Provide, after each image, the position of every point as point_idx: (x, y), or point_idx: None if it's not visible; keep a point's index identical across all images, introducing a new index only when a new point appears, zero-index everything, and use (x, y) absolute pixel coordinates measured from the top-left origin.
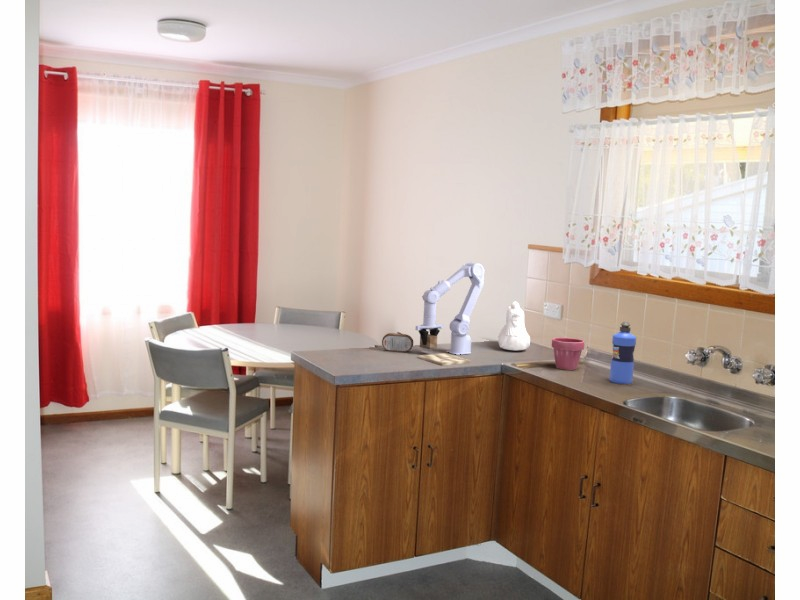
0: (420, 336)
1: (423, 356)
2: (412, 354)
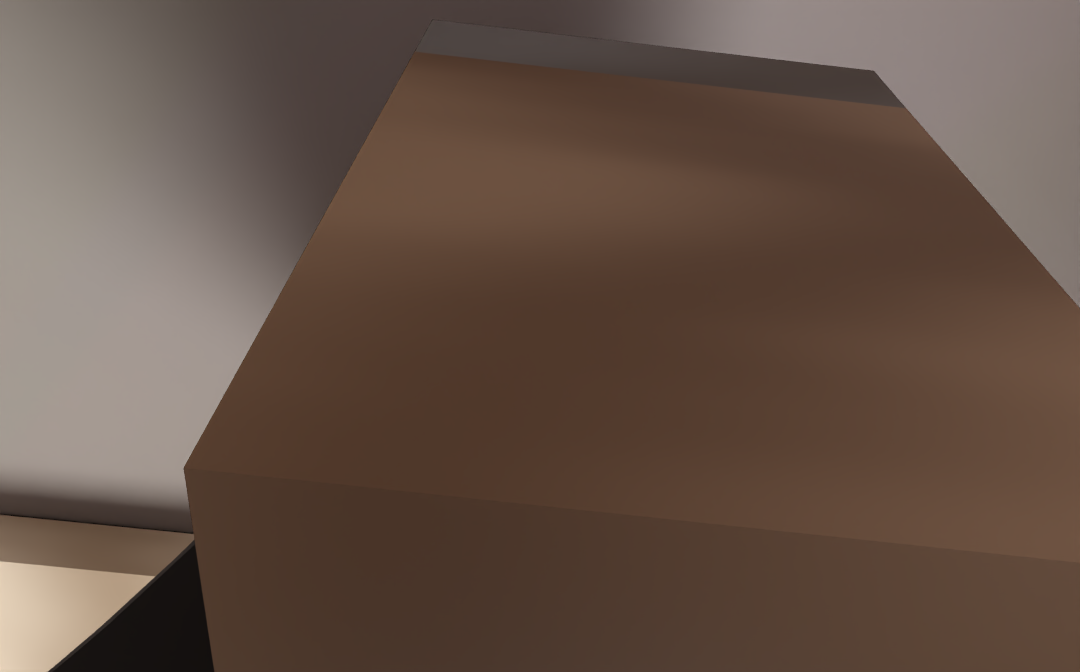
0: (277, 347)
1: (38, 657)
2: (10, 95)
